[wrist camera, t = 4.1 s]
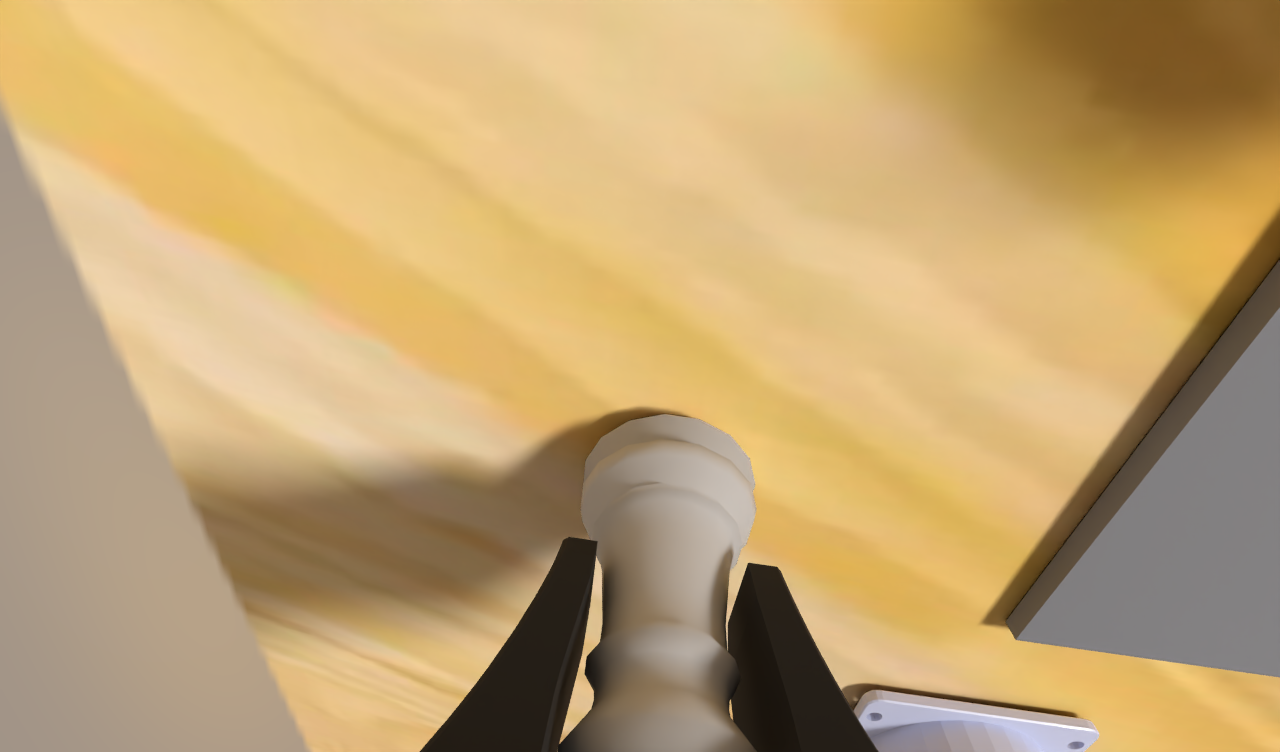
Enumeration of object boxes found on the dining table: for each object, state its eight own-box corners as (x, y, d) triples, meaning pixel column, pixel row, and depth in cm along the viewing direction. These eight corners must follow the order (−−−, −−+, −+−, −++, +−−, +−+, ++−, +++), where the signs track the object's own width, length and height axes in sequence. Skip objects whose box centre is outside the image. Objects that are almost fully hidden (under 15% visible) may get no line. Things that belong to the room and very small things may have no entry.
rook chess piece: (756, 400, 13) (834, 777, 6) (750, 531, 16) (803, 912, 9) (574, 404, 14) (468, 762, 7) (595, 531, 16) (529, 895, 9)
